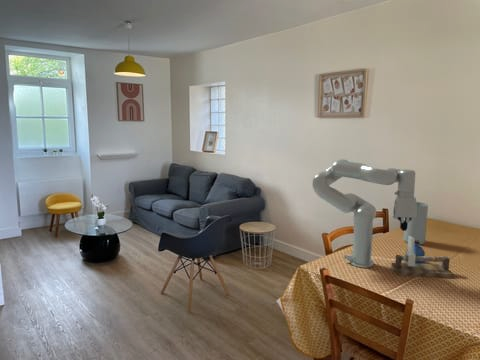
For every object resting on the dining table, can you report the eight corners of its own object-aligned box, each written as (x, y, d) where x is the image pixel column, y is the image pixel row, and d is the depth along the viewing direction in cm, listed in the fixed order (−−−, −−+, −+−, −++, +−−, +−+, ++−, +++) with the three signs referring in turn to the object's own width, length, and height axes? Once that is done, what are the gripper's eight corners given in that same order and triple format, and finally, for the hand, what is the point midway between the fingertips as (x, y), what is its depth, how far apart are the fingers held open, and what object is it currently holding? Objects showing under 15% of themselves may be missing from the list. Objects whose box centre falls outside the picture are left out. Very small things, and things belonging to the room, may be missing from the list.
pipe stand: (398, 275, 178) (399, 259, 177) (391, 266, 190) (392, 251, 189) (453, 277, 175) (455, 261, 174) (442, 268, 187) (443, 253, 186)
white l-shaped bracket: (408, 266, 180) (410, 239, 178) (404, 261, 186) (406, 235, 184) (414, 266, 180) (416, 239, 177) (410, 261, 185) (412, 235, 183)
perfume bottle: (414, 264, 192) (416, 243, 191) (406, 260, 198) (407, 239, 196) (423, 263, 194) (425, 242, 192) (415, 259, 200) (417, 238, 198)
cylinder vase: (428, 245, 223) (431, 206, 219) (408, 244, 223) (411, 206, 219) (419, 238, 235) (422, 201, 231) (400, 238, 236) (402, 201, 232)
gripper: (392, 195, 175) (390, 231, 177) (424, 196, 173) (422, 232, 176) (387, 192, 182) (386, 227, 185) (418, 193, 180) (416, 228, 183)
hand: (403, 229), depth 180 cm, fingers closed
